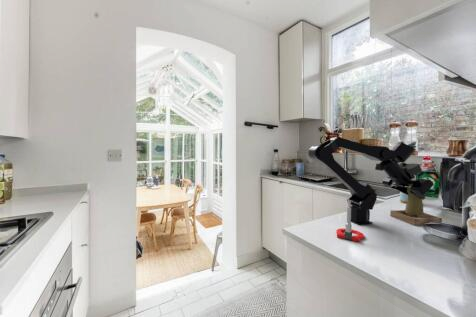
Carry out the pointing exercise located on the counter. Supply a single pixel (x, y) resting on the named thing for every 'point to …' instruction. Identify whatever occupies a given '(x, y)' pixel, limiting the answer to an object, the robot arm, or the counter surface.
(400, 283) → the counter surface
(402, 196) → the bottle
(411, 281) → the counter surface
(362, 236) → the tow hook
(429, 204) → the counter surface
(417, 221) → the tray
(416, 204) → the cork
